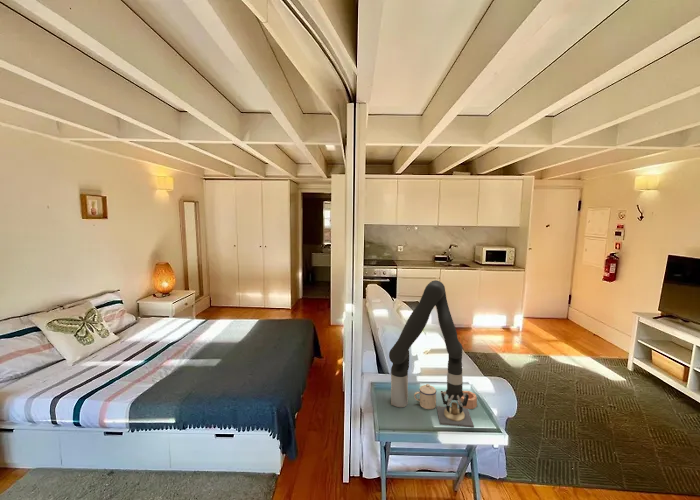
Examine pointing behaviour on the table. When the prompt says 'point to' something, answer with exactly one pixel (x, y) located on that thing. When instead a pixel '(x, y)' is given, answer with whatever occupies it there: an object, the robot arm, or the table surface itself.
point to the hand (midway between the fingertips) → (454, 411)
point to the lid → (454, 413)
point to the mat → (444, 421)
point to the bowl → (470, 400)
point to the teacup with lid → (427, 396)
